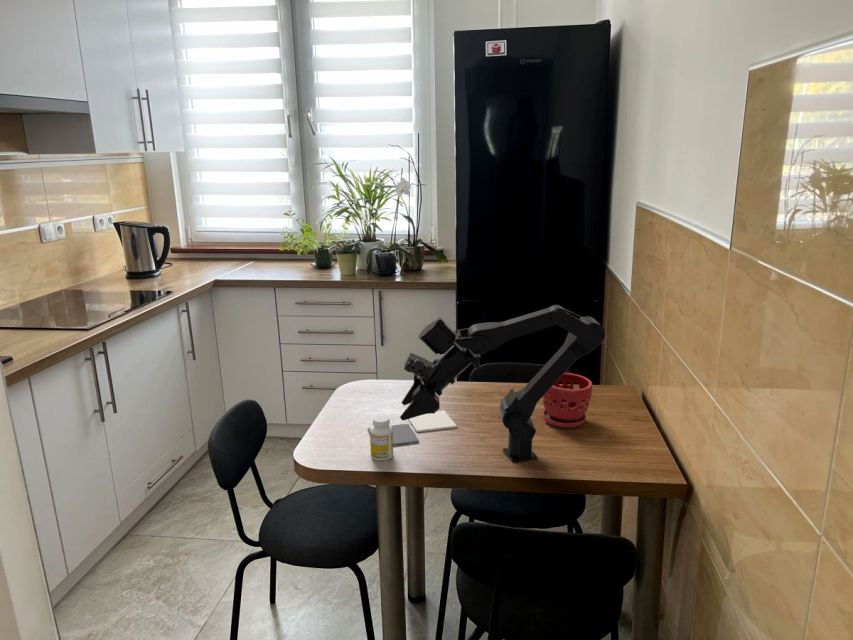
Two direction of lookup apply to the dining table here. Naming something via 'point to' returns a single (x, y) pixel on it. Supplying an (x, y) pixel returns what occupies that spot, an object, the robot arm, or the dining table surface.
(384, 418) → the supplement bottle
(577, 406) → the plant pot
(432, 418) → the offwhite coaster
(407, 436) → the slate coaster
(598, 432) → the dining table surface
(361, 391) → the dining table surface
